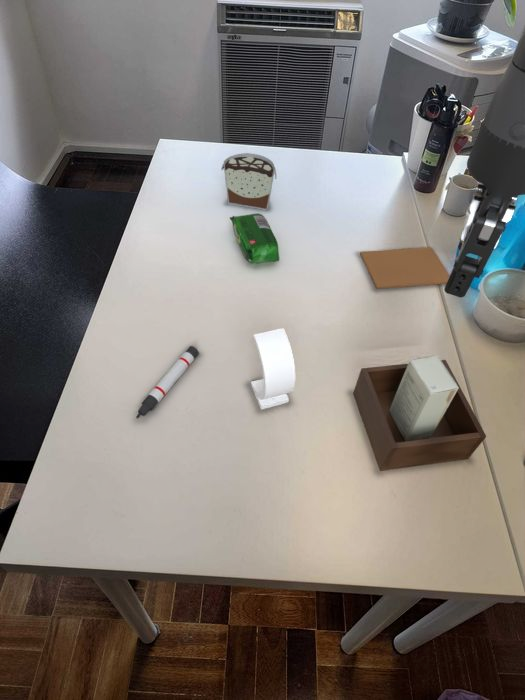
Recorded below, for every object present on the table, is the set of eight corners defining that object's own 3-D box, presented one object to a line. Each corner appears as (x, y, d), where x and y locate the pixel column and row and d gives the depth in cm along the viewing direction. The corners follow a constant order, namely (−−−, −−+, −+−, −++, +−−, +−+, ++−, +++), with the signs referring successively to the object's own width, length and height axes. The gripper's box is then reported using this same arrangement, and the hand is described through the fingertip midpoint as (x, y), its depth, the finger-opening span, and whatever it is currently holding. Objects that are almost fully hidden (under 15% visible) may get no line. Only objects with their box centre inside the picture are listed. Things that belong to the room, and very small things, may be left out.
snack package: (259, 224, 105) (260, 203, 101) (282, 267, 95) (283, 246, 91) (228, 228, 103) (228, 207, 99) (248, 273, 93) (248, 252, 89)
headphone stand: (277, 378, 77) (283, 327, 68) (290, 407, 73) (299, 358, 64) (250, 384, 76) (253, 334, 66) (263, 415, 72) (267, 366, 63)
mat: (430, 249, 101) (431, 247, 101) (451, 283, 94) (452, 281, 94) (359, 254, 99) (360, 251, 99) (376, 289, 92) (376, 286, 92)
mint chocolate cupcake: (279, 197, 112) (282, 157, 104) (273, 211, 108) (276, 170, 100) (229, 188, 113) (228, 148, 106) (222, 202, 109) (221, 161, 102)
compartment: (431, 384, 77) (445, 359, 72) (468, 459, 69) (486, 436, 64) (352, 393, 75) (361, 368, 70) (379, 471, 67) (391, 448, 62)
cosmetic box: (431, 438, 70) (461, 390, 61) (405, 443, 69) (431, 396, 60) (412, 403, 74) (438, 353, 65) (387, 408, 73) (409, 358, 64)
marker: (189, 352, 79) (188, 344, 78) (199, 356, 79) (198, 348, 77) (132, 419, 70) (130, 412, 69) (143, 425, 70) (141, 417, 68)
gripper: (573, 173, 35) (485, 322, 48) (577, 105, 44) (502, 246, 56) (472, 148, 37) (413, 298, 50) (495, 88, 46) (439, 228, 58)
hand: (460, 270), depth 53 cm, fingers open, 8 cm apart
